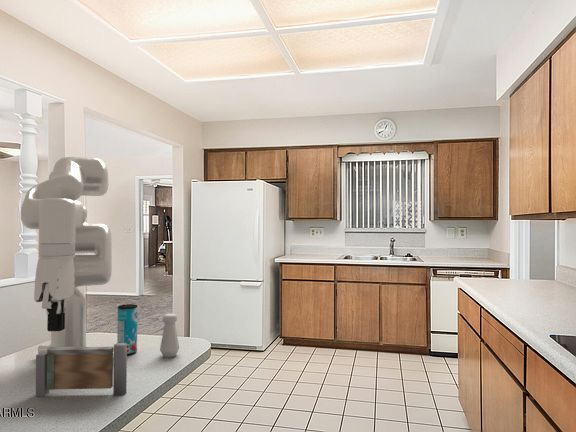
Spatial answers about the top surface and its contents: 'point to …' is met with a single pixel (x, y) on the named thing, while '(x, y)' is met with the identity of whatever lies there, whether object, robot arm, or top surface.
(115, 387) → the hinge post
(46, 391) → the post
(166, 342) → the salt shaker
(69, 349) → the gate
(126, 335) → the beverage can
